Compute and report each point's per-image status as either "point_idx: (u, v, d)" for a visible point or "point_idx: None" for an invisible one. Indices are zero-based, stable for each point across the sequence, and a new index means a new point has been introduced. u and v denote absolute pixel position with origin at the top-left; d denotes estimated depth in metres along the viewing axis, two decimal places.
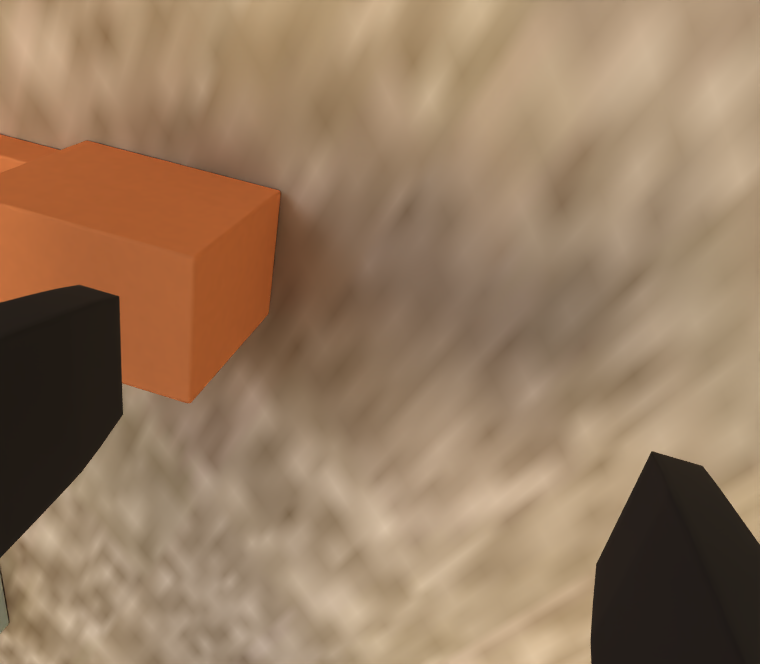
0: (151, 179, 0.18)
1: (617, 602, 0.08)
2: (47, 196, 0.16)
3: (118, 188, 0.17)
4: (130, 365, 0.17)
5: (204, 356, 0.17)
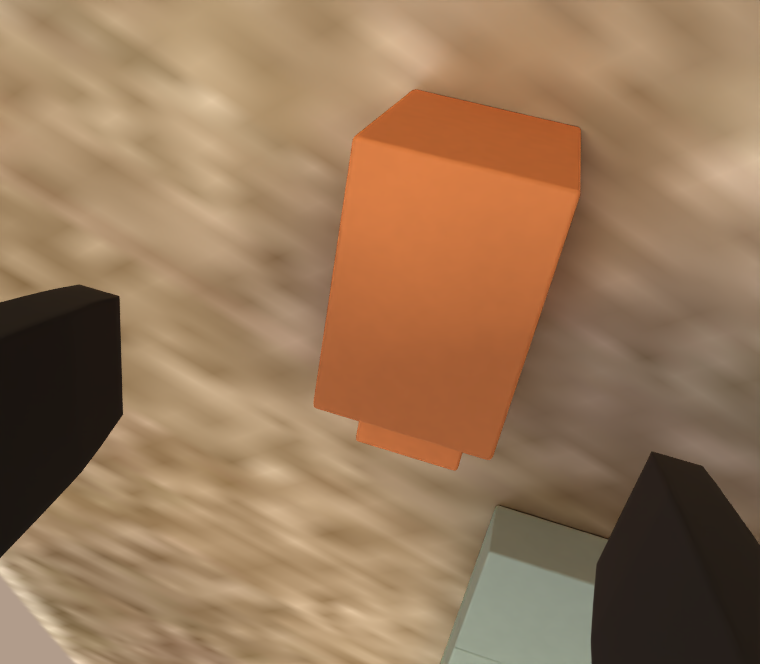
0: None
1: (618, 602, 0.08)
2: None
3: None
4: (516, 267, 0.12)
5: (521, 166, 0.12)
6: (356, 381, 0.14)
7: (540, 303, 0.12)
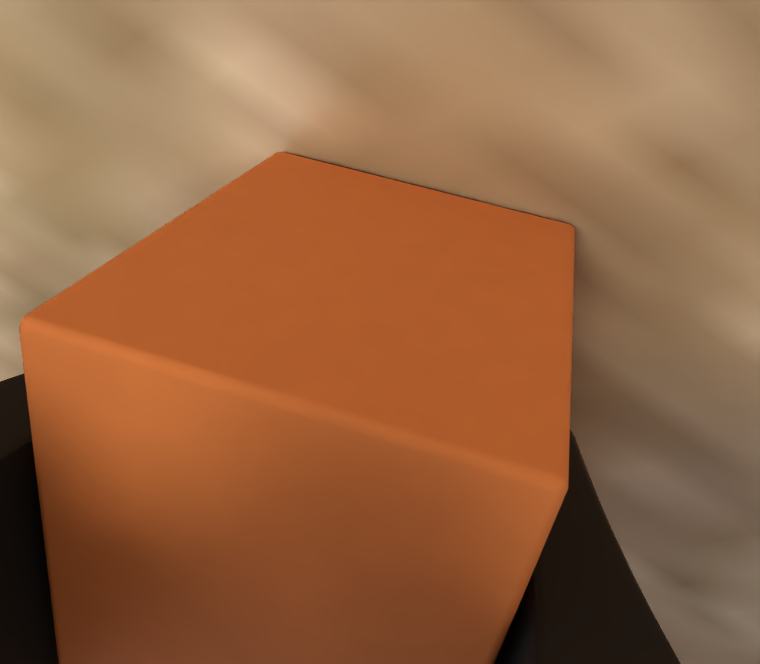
0: None
1: None
2: None
3: None
4: (419, 613, 0.05)
5: (429, 385, 0.05)
6: None
7: None
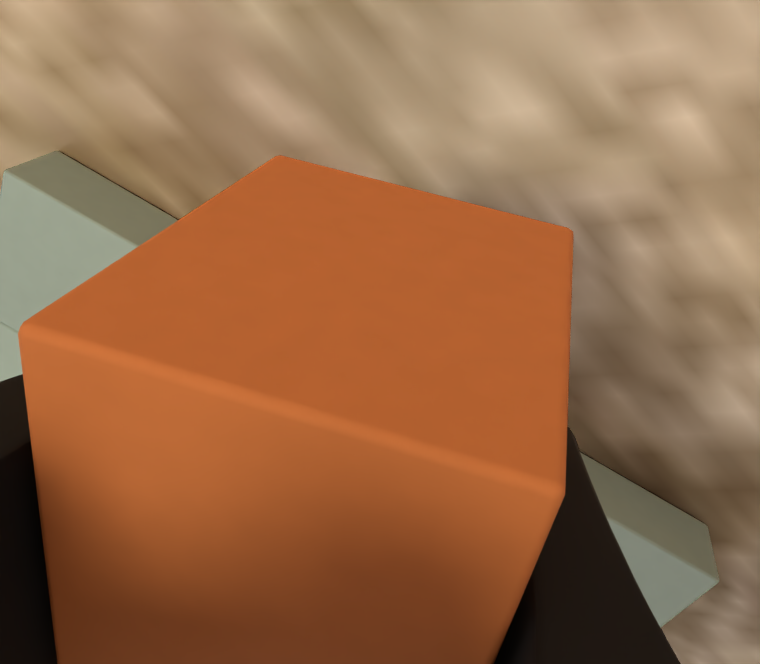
0: None
1: None
2: None
3: None
4: (417, 618, 0.05)
5: (426, 390, 0.05)
6: None
7: None
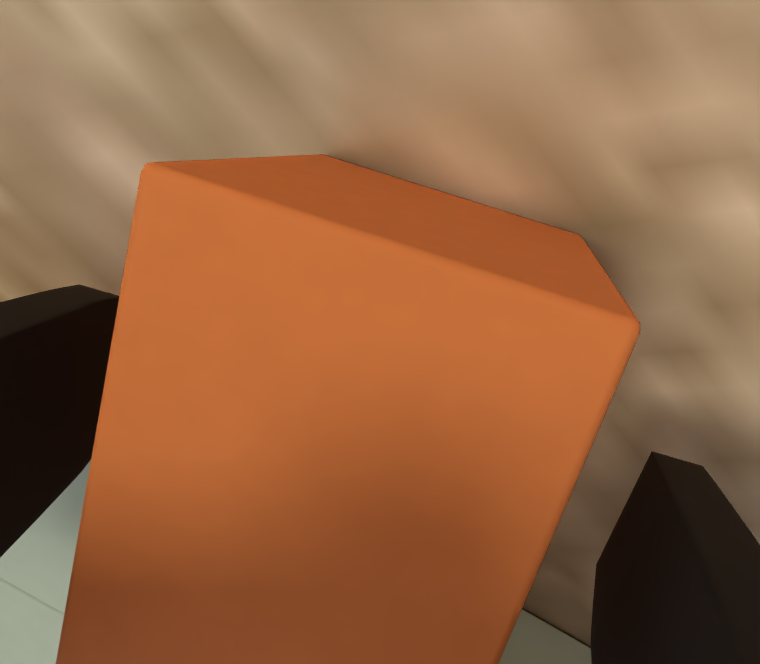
0: None
1: (619, 602, 0.08)
2: None
3: None
4: (485, 481, 0.05)
5: (505, 263, 0.06)
6: None
7: (533, 565, 0.06)
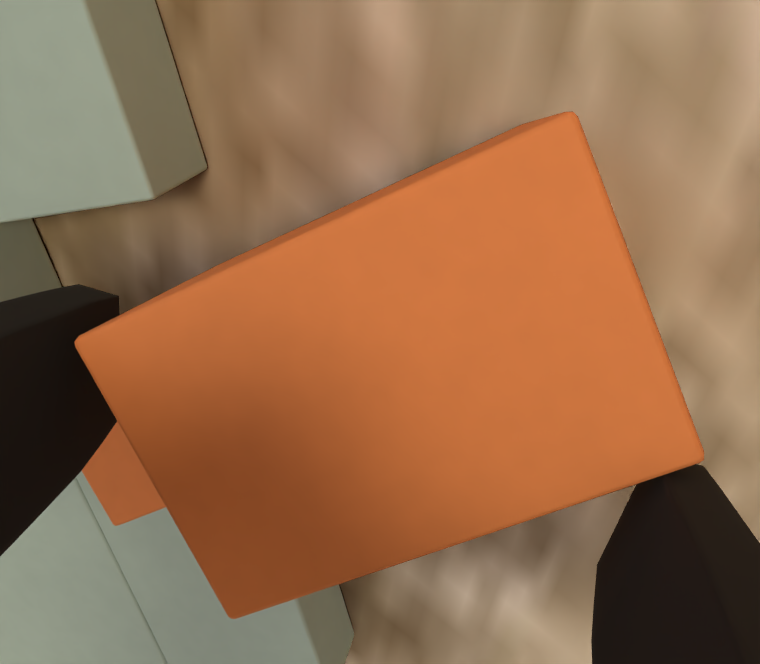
0: (348, 206, 0.10)
1: (619, 602, 0.08)
2: (227, 265, 0.08)
3: (318, 220, 0.10)
4: (545, 460, 0.08)
5: None
6: (180, 374, 0.08)
7: (515, 521, 0.08)
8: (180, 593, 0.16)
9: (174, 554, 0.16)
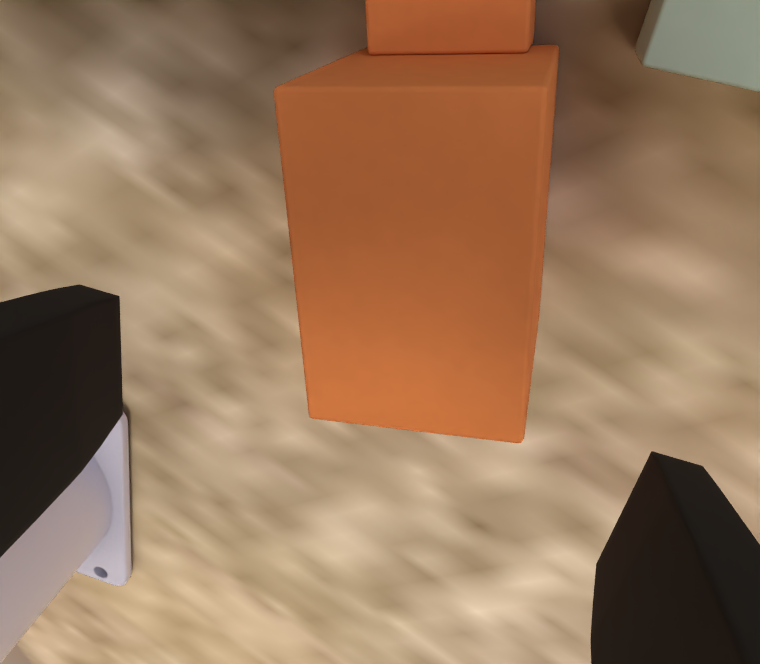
0: None
1: (618, 602, 0.08)
2: (542, 193, 0.11)
3: (543, 218, 0.12)
4: (335, 350, 0.12)
5: None
6: (481, 161, 0.10)
7: (300, 317, 0.12)
8: None
9: None
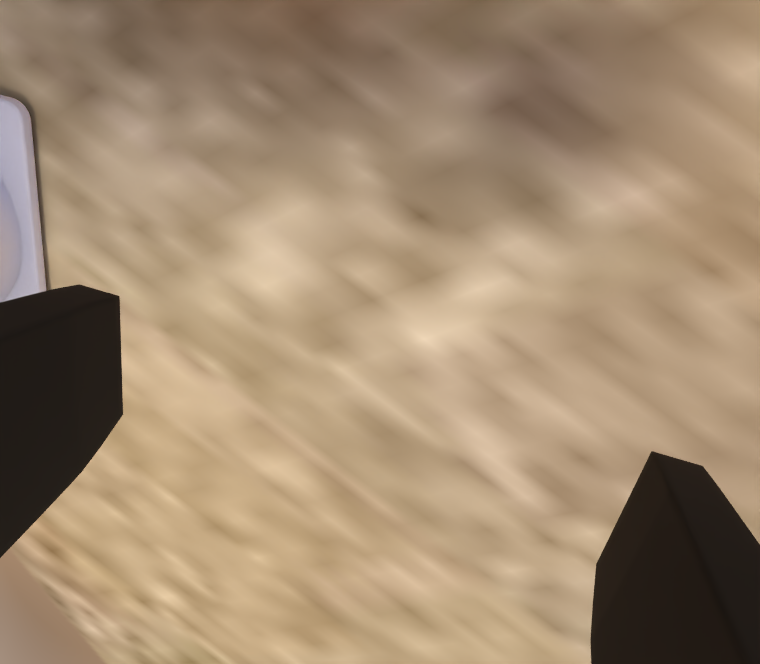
0: None
1: (618, 602, 0.08)
2: None
3: None
4: None
5: None
6: None
7: None
8: None
9: None
